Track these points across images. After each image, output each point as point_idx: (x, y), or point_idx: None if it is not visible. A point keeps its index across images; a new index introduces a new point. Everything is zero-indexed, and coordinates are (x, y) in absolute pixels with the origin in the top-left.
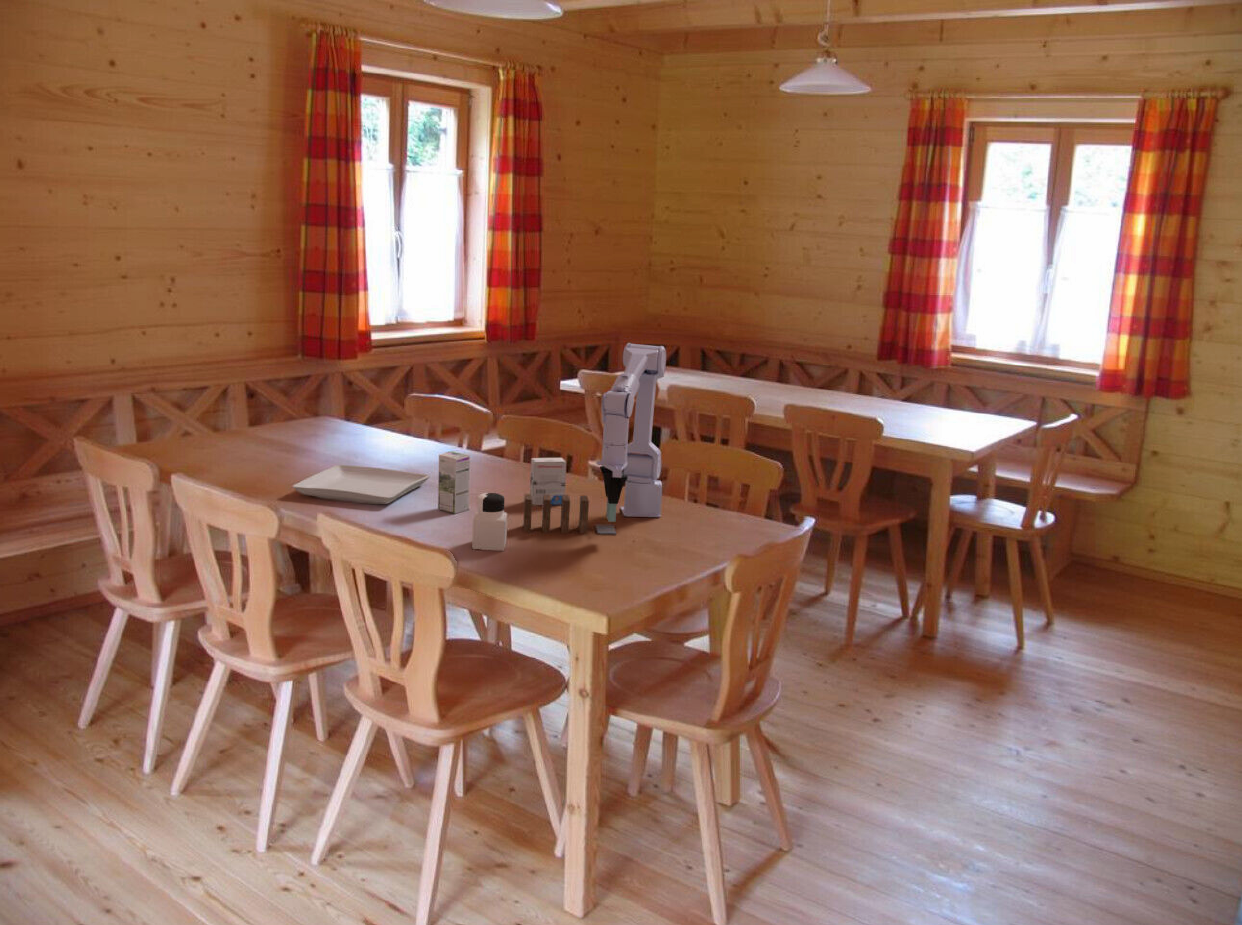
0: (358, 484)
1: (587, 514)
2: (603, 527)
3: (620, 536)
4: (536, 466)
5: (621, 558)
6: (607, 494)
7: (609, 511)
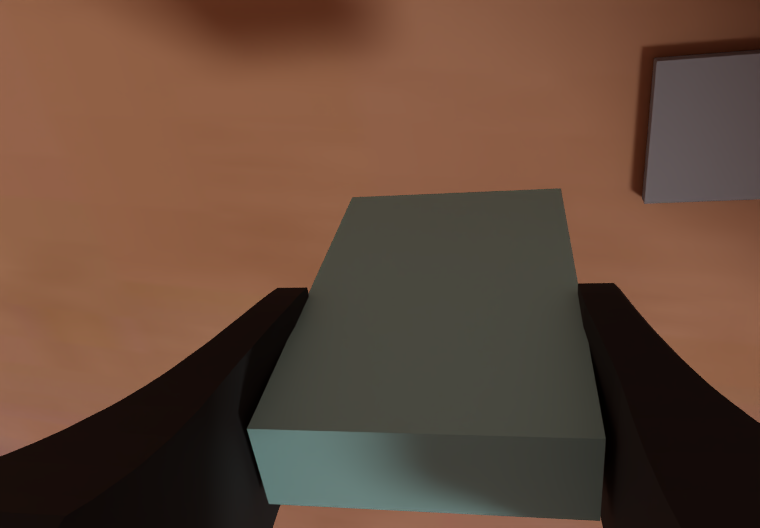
0: None
1: None
2: None
3: (603, 224)
4: None
5: (125, 197)
6: (259, 332)
7: (333, 247)
